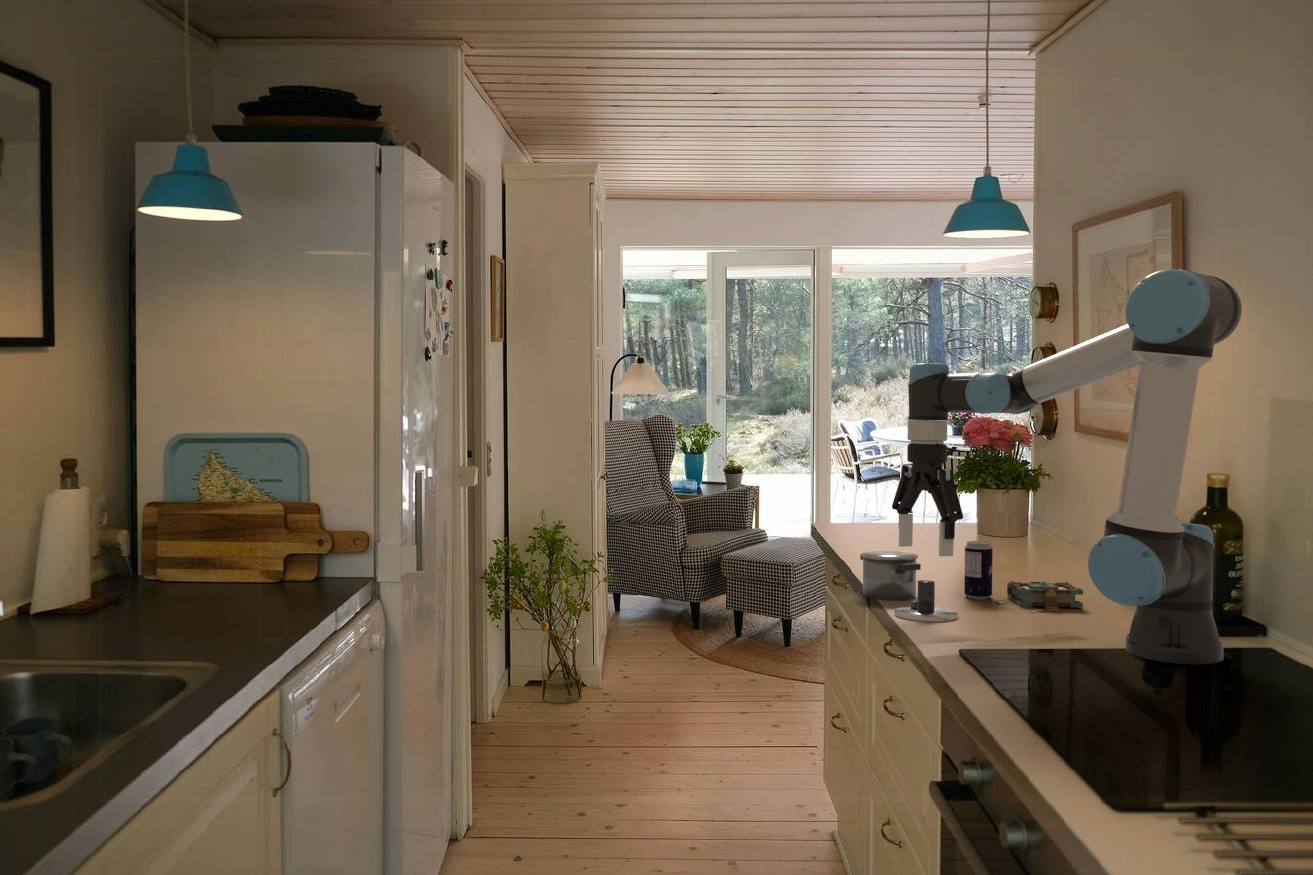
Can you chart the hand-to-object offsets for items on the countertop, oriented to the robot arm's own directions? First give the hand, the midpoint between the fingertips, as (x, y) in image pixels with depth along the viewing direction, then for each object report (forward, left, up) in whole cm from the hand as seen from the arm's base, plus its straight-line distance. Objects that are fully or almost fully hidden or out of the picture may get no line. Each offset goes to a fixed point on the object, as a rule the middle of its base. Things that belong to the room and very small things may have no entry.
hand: (925, 551), depth 199 cm
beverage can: (+13, -22, -13) cm, 29 cm away
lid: (0, 0, -13) cm, 13 cm away
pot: (+21, -5, -13) cm, 25 cm away
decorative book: (+4, -30, -13) cm, 33 cm away
